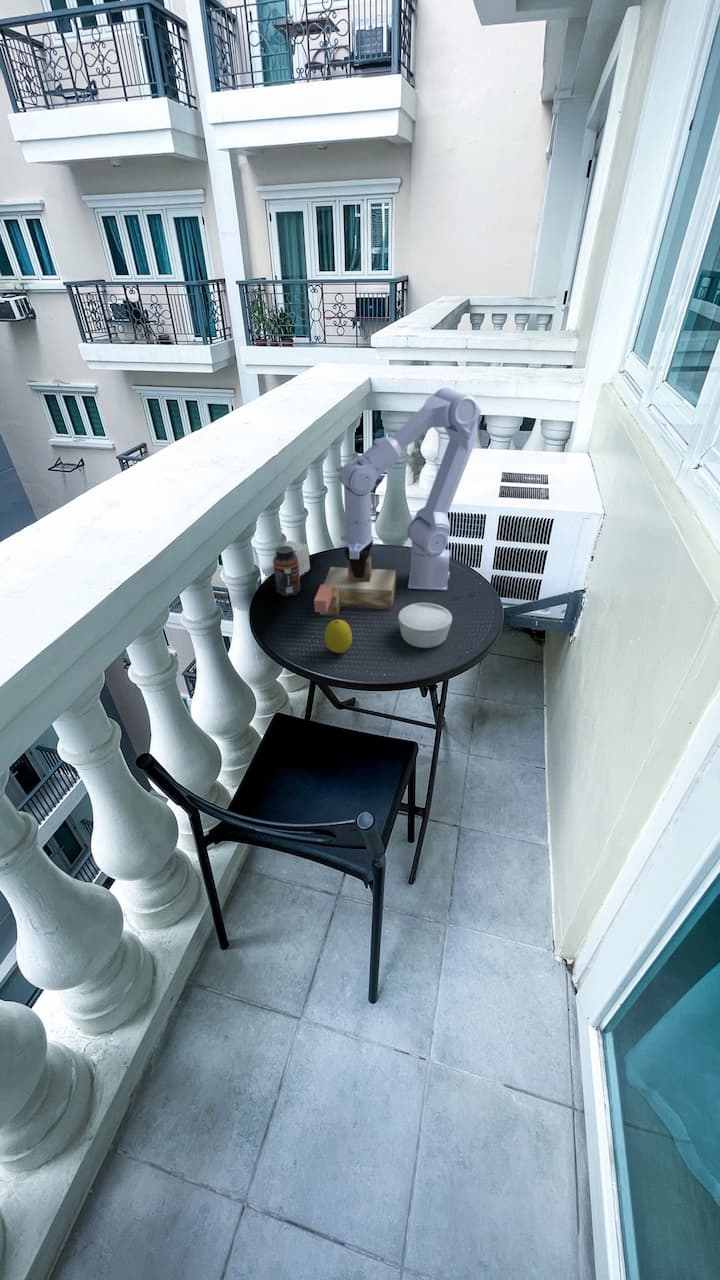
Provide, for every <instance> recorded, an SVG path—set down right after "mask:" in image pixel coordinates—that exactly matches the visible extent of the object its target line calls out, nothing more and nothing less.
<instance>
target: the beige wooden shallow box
mask: <svg viewBox="0 0 720 1280" xmlns="http://www.w3.org/2000/svg"><path fill="white" fill-rule="evenodd" d="M396 578H397V575H396V576H395V581H394V586H393V591H392V594H376V593H357V592H340V589H339V588H335V587H332V592H333V597H332V599H331V602H330V605H329V607H328V610H327V613H326V612H319V614H320V616H333V617H334V616H335V617H337V616H338V615H339V612H340V609H341V608H352V609H353V608H354V609H355V608H356V609H357V608H358V609H371V610H390V611H391V610H393V609H392V608H393V604H394V599H395V594H396V587H397V585H396V583H397V582H396V580H397V579H396Z"/></svg>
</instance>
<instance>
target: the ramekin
mask: <svg viewBox="0 0 720 1280" xmlns="http://www.w3.org/2000/svg"><path fill="white" fill-rule="evenodd" d="M397 622H398V623H399V629H400V635H401V637H402V639H403V640H404V641H405V642H406V643H407V644H409V645H410V646H411V647H415V648H420V649H431V648H436V647H437V646H439V645H441V644H442V643H444V642H445V640H447V637H448V634H449V630H450V627H451V625H452V622H453V616H452V613H451V612H450V611H449V610H448V609H446V608H445V607H443V606H441V605H438V604H436V603H431V602H430V603H429V602H417V603H411V604H409V605H407V606H405V607H403V608H402V609H400V611H399V612H398V616H397Z"/></svg>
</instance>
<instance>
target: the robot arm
mask: <svg viewBox="0 0 720 1280" xmlns="http://www.w3.org/2000/svg"><path fill="white" fill-rule="evenodd" d="M481 412H482V409H481V408H480V406H479V403H478V401H477V399H476V398H475V397H474V396H473V395H471V394H467V393H462V392H459V391H456V390H454V389H451V388H450V387H442V388H439V389H437V390H436V391H435V392H434V394H433V395H431V396H429V397H427V399H426V401H425V402H424V404H423V406H422V407H421V408H419V410H418V411H417V412H416V413H415V414H413V415H412V416H411V417H410V418H409V420H407V422H405V423H404V424H403V425H402V426H401V427H399V429H398V430H397V431H396V432H395V433H394V434H393V435H392V436H387V437H386V436H383V437H381V438H376V439H375V440H373V444H372V445H371V446H370V447H369V448H368V449H367V450H366V451H365V452H363V453H362V454H361V455H360V454H359V455H357V456H356V458H355V459H356V460H352V461H351V460H350V461H348V462H346V463H345V464H344V465H343V466H342V468H341V469H342V470H341V471H340V474H338V478H339V481H340V483H341V484H342V485H343V488H344V489H343V490H344V498H343V499H344V518H345V519H344V521H345V534H341V536H340V540H341V541H342V542H346V543H345V544H346V546H347V548H344V556H345V558H346V559H347V562H348V561H349V563H350V565H351V568H352V572H353V575H354V578H363V576H364V572H365V565H366V560H367V558H368V556H369V557H370V553H371V548H372V546H373V544H374V539H373V535H372V495H371V494H372V491H373V490H374V488H375V486H376V482H377V480H379V478H380V476H381V475H383V474H384V473H386V472H387V471H388V470H389V469H390V468H391V467H392V466H394V465H395V464H396V463H397V462H398V461H400V458H401V454H402V451H403V450H404V449H405V448H406V447H408V446H409V445H411V444H413V442H414V441H415V440H417V439H419V438H420V437H421V436H422V435H424V434H425V433H427V432H428V431H429V430H430V429H432V428H444V430H445V431H446V434H447V436H448V438H449V440H448V443H447V446H446V449H445V451H444V455H443V457H442V460H441V463H440V465H439V467H438V471H437V473H436V476H435V479H434V482H433V484H432V487H431V489H430V492H429V495H428V497H427V500H426V502H425V505H424V506H423V507H422V508H420V509H418V510H417V511H416V514H415V516H414V518H413V519H412V520H411V521H410V523H409V524H408V526H407V529H406V532H407V537H408V538H409V540H410V541H411V554H410V556H411V557H410V558H411V559H410V573H409V578H408V583H407V588H408V589H413V590H414V589H415V590H429V591H430V590H431V591H433V590H434V591H435V590H436V591H447V590H448V584H449V583H448V581H449V579H450V571H449V569H450V552H451V550H450V549H446V548H447V545H448V541H449V531H450V529H451V525H450V521H449V517H448V514H449V511H450V508H451V506H452V503H453V500H454V499H455V496H456V494H457V493H456V492H457V490H458V487H459V485H460V483H461V480H462V477H463V475H464V472H465V469H466V468H467V465H468V462H469V460H470V458H471V455H472V452H473V449H474V446H475V445H476V441H477V438H478V420H479V417H480V415H481Z"/></svg>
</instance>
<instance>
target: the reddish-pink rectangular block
mask: <svg viewBox="0 0 720 1280" xmlns="http://www.w3.org/2000/svg"><path fill="white" fill-rule="evenodd" d="M323 584H324V583H323ZM323 584H320V585H319V588H318V590H317V593H316V595H315V597H314V599H313V605H314V612H315V613H320V612H326V613H327V610H328V607H329V605H330V602H331V599H332V597H333V592H332V585H323Z"/></svg>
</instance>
